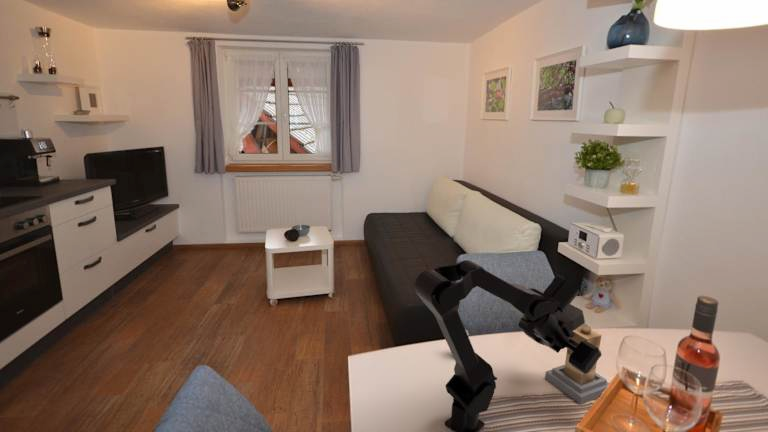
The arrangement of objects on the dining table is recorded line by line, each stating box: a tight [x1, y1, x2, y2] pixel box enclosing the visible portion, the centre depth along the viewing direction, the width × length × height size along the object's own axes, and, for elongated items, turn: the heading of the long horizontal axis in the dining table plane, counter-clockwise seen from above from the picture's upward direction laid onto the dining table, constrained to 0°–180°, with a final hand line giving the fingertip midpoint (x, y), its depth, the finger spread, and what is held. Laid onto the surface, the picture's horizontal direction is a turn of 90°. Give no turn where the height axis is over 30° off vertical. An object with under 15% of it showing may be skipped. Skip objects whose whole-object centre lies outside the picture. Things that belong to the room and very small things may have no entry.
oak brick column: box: [564, 325, 602, 386], centre depth 106 cm, size 5×5×14 cm
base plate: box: [544, 364, 611, 405], centre depth 108 cm, size 11×11×3 cm
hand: (573, 357), depth 104 cm, fingers open, 9 cm apart
